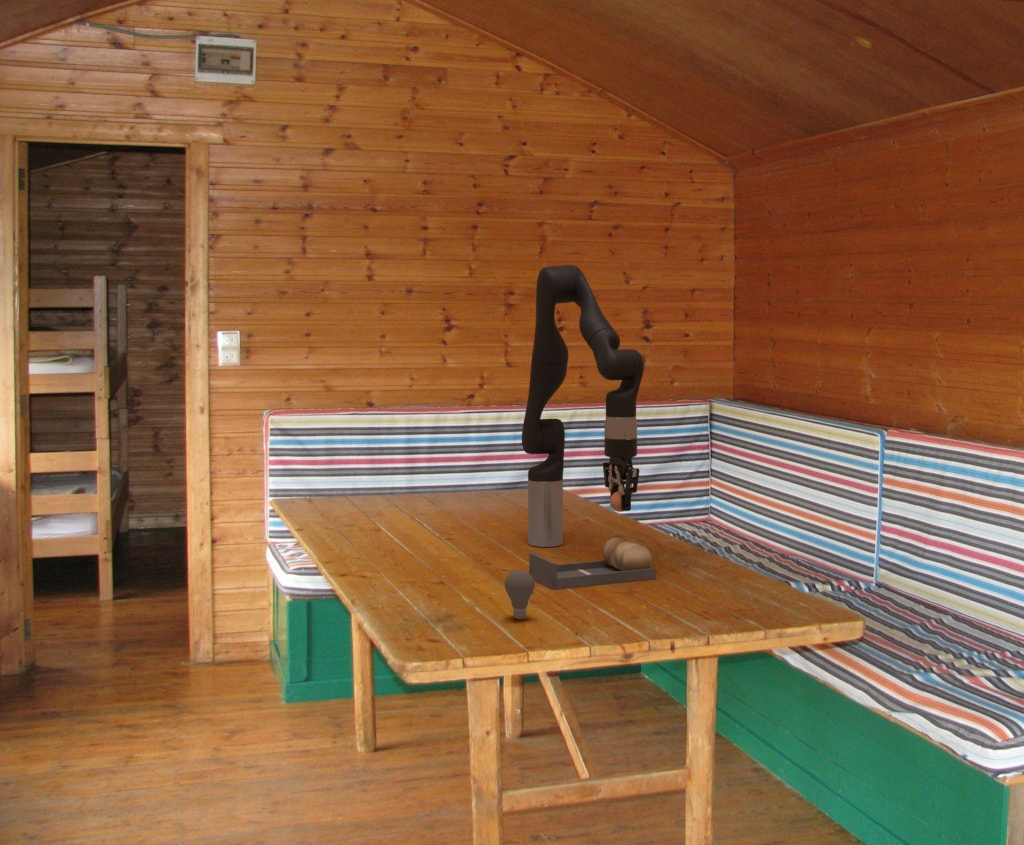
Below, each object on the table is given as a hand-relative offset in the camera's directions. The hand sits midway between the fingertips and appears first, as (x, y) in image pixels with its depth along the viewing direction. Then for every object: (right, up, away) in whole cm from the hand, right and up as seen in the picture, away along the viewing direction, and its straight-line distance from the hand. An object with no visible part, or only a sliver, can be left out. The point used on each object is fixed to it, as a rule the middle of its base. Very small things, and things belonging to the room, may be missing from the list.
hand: (620, 508), depth 271 cm
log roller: (+2, -16, +2) cm, 16 cm away
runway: (-7, -16, -1) cm, 17 cm away
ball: (0, -1, 0) cm, 1 cm away
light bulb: (-24, -20, -37) cm, 48 cm away
